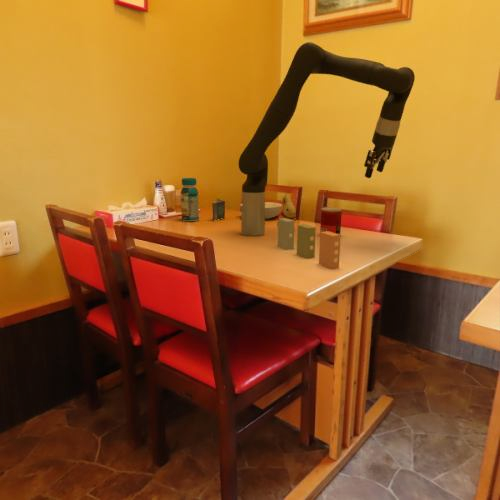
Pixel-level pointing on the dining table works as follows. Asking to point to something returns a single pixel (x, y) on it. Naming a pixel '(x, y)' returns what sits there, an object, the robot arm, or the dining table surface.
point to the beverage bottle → (189, 200)
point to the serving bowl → (270, 209)
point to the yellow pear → (288, 209)
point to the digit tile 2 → (306, 241)
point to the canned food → (331, 220)
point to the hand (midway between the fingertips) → (373, 174)
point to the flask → (218, 209)
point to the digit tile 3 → (329, 249)
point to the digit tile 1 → (286, 233)
